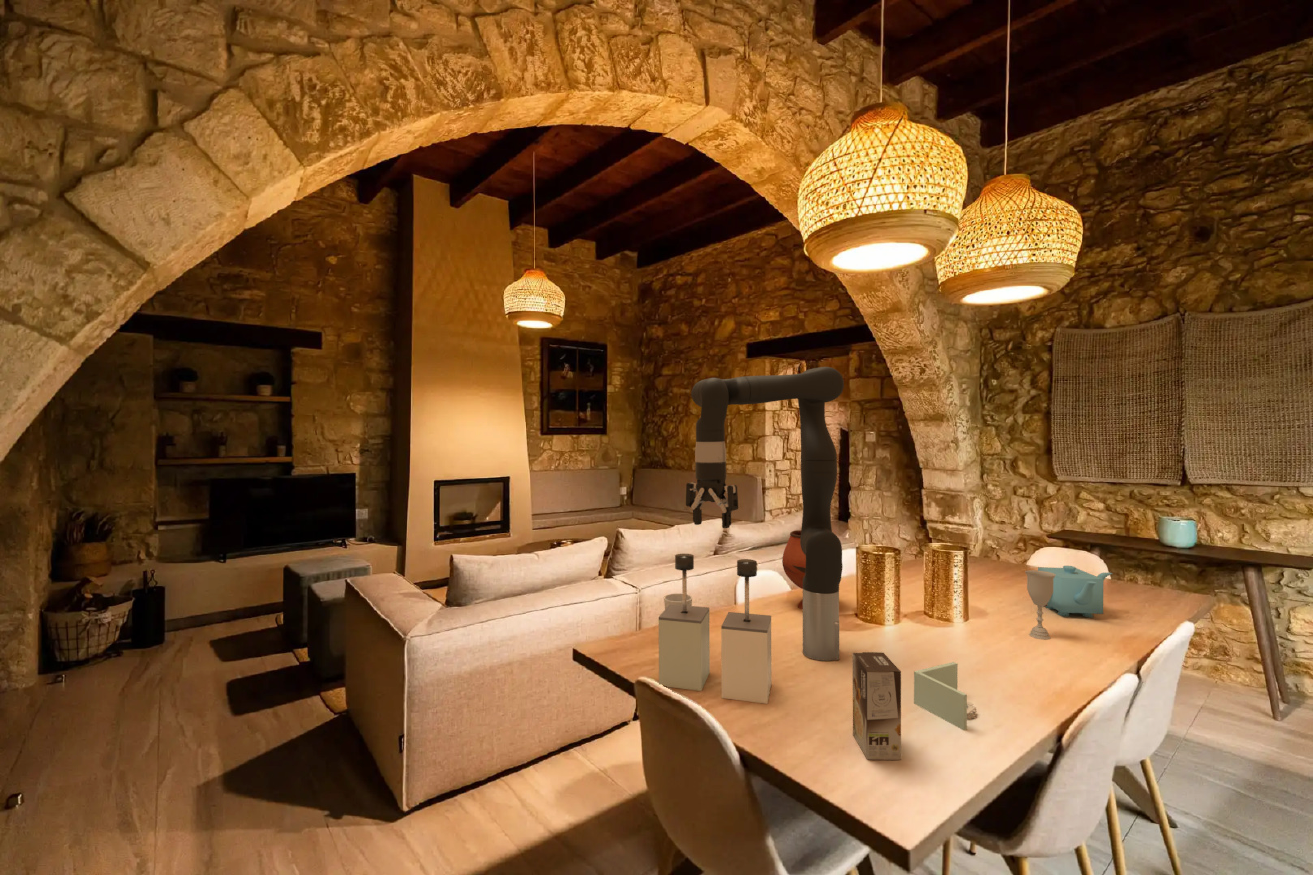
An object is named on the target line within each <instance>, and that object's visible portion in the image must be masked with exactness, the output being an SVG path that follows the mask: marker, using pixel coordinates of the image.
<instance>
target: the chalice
mask: <svg viewBox="0 0 1313 875" xmlns="http://www.w3.org/2000/svg"><path fill="white" fill-rule="evenodd" d="M1024 573H1025V575H1026V591H1027V593H1028V595H1029V597H1030V598H1031V600H1032V603H1033V605H1035V606H1037V611H1036V614H1037V617H1036V618H1035V619H1036V622H1037V625H1036V626H1032V628H1031V630H1030V633H1029V634H1028V635H1029V637H1032V638H1034V639H1038V640H1043V641H1044V640H1050V639H1051V636H1050V634H1049V632H1048V630H1047V628H1045V627H1044V626H1043V621H1044V618H1043V614H1044V612H1043V607H1046V606H1047V603H1048V601H1049V600H1050V598H1051V596H1052V594H1053V579H1054V577H1055V576H1056V574H1054V573H1051V572H1046V571H1038V569H1037V570H1033V569H1030V570H1029V569H1028V570H1025V571H1024Z"/></svg>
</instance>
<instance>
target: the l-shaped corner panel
mask: <svg viewBox="0 0 1313 875" xmlns="http://www.w3.org/2000/svg"><path fill="white" fill-rule="evenodd" d="M958 665H959V664H958V663H957V662H954V661H952V662H947V663H943V664H939V665H936V666H935V665H934V666H932V667H927V668H922V669H918V670H914V671H913V704H914V705H916V706H918V707H920V708H922V710H923V709H924V710H925V711H927V712H929V713H931V714H933V715H935V716H937V717H938V718H940V719H942V720H944V721H945V722H947V723H950V725H953V726H954V727H957V728H958V729H960V730H962V731H967V727H968V723H967V722H968V720H969V721H972V719H975V720H976V719H977V718H976V717H977V716H978V715H977V707H976V706H974V703H973V702H969V701H968V695H967V693H964V692H963V691H961V690H958V669H959V668H958Z"/></svg>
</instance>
